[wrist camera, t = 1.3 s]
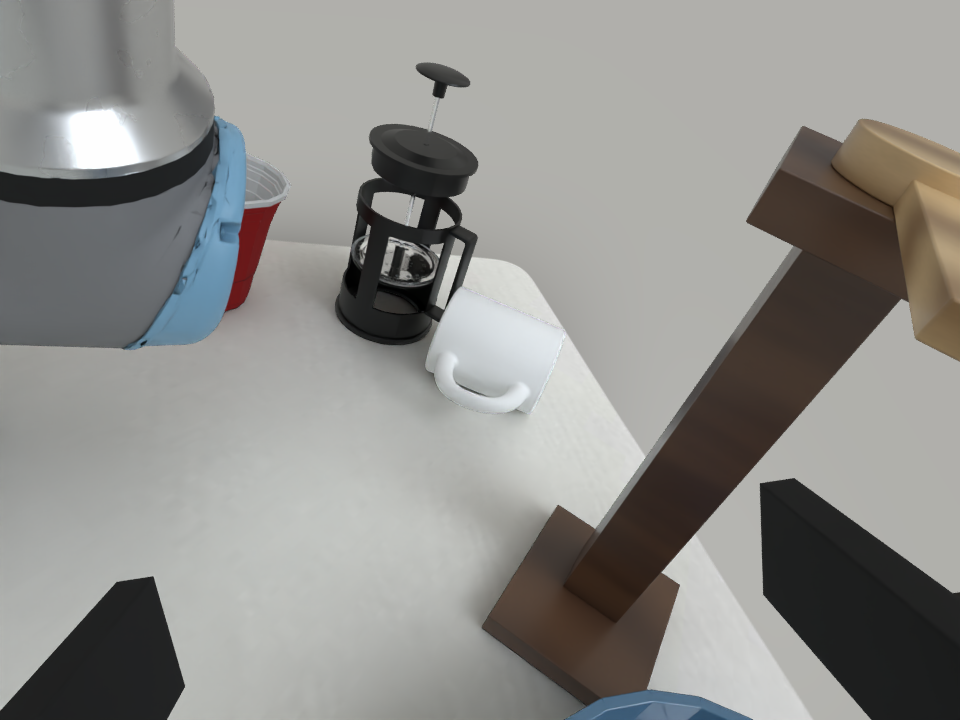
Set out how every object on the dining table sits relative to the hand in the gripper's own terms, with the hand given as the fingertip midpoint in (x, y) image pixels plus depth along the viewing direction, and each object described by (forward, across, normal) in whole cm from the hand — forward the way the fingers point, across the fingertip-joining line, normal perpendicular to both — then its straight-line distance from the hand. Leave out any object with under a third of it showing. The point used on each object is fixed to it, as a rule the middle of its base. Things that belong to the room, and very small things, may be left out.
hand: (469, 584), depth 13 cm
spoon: (+6, +14, +5) cm, 16 cm away
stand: (+24, +6, -19) cm, 31 cm away
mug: (+40, +1, -8) cm, 41 cm away
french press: (+47, -6, -1) cm, 47 cm away
